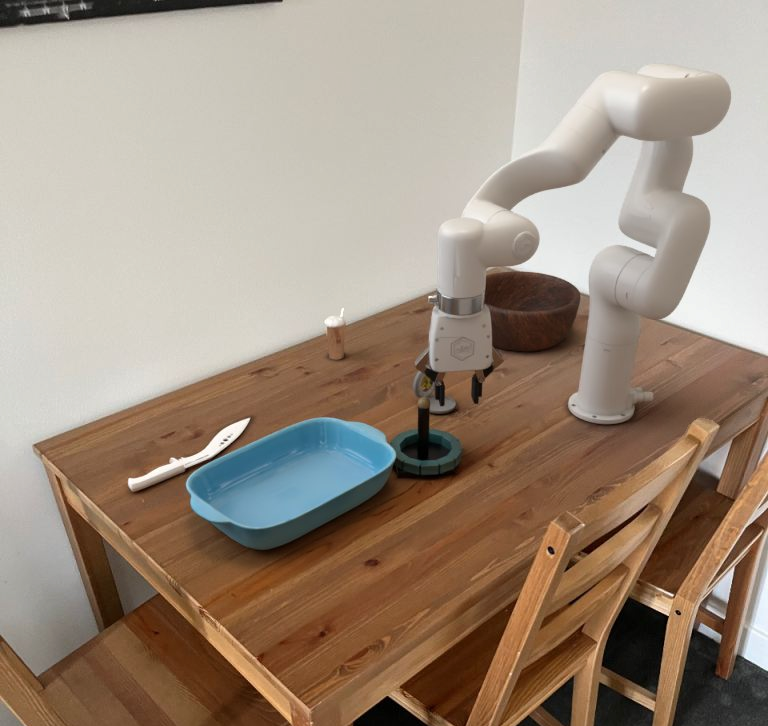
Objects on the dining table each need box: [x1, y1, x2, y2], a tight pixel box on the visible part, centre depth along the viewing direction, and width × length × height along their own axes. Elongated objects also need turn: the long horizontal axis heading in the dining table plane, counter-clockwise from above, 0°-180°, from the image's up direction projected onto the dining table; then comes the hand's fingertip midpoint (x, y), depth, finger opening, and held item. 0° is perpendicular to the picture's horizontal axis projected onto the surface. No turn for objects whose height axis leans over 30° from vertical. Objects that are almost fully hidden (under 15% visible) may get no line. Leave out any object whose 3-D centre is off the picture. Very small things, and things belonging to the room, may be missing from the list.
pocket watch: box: [412, 359, 457, 415], centre depth 165 cm, size 8×8×10 cm
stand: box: [394, 397, 456, 479], centre depth 148 cm, size 10×10×13 cm
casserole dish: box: [185, 416, 396, 551], centre depth 140 cm, size 37×22×7 cm, turn 135°
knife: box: [127, 417, 251, 493], centre depth 154 cm, size 30×2×8 cm
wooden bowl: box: [485, 270, 582, 352], centre depth 192 cm, size 25×25×10 cm
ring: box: [389, 427, 463, 475], centre depth 151 cm, size 13×13×2 cm
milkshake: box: [323, 307, 347, 361], centre depth 183 cm, size 4×5×10 cm
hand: (458, 400), depth 145 cm, fingers open, 5 cm apart
